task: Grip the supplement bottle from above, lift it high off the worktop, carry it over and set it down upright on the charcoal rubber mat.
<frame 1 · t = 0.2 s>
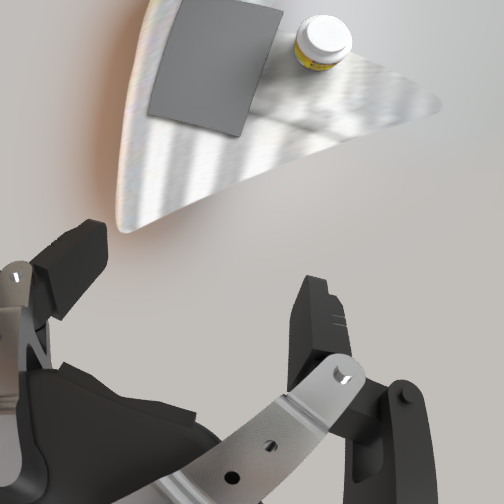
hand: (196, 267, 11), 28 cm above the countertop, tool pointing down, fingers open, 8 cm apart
supplement bottle: (316, 52, 28), on the countertop
mat: (212, 59, 30), on the countertop
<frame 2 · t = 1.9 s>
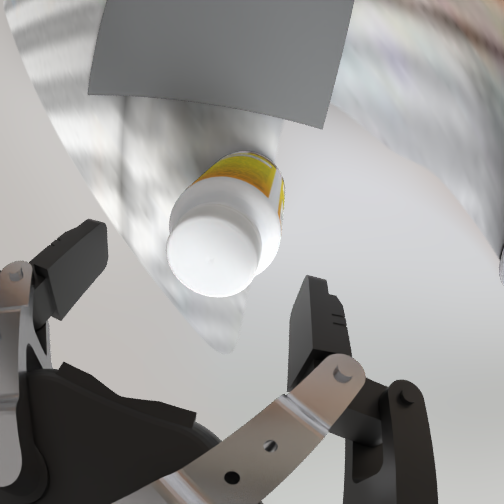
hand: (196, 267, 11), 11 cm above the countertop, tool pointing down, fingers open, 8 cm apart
supplement bottle: (247, 186, 21), on the countertop
mat: (212, 18, 15), on the countertop
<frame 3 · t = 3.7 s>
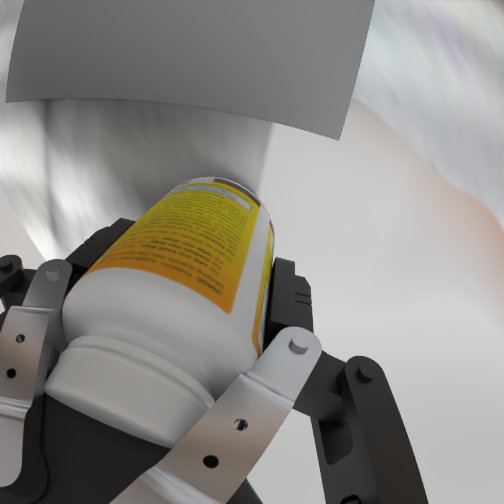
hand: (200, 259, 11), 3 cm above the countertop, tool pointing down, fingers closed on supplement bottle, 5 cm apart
supplement bottle: (216, 229, 14), on the countertop, touching gripper
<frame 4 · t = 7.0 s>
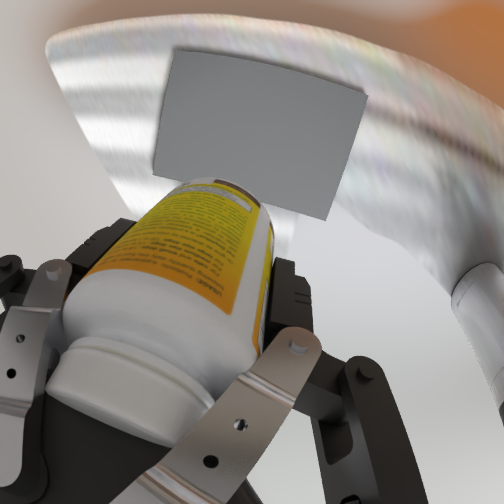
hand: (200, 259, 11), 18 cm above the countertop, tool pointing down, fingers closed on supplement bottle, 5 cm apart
supplement bottle: (216, 229, 14), point 15 cm above the countertop, touching gripper
mat: (253, 130, 25), on the countertop
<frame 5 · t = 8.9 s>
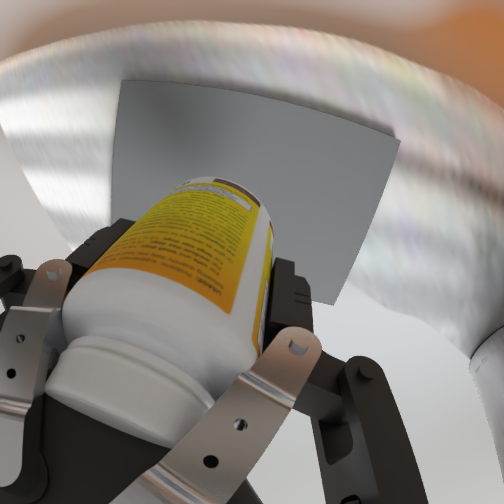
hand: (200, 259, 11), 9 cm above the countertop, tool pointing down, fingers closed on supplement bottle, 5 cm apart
supplement bottle: (216, 229, 14), point 6 cm above the countertop, touching gripper
mat: (236, 192, 19), on the countertop
when the fingers open (4 cm above the countertop, at t = 10.6 s): supplement bottle drops 1 cm, resting on mat.
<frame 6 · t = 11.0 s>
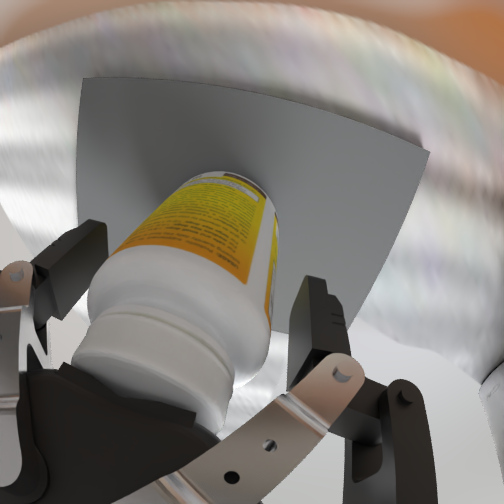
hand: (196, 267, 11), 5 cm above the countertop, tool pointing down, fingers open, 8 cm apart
supplement bottle: (224, 220, 15), point 1 cm above the countertop, touching mat
mat: (223, 214, 15), on the countertop
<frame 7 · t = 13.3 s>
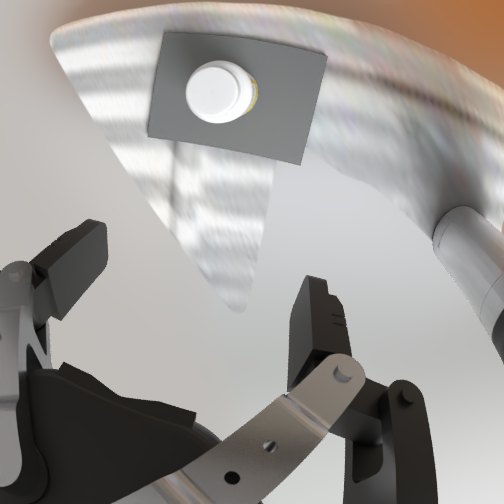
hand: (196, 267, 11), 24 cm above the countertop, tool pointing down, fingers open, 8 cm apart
supplement bottle: (233, 92, 27), point 1 cm above the countertop, touching mat
mat: (232, 92, 28), on the countertop
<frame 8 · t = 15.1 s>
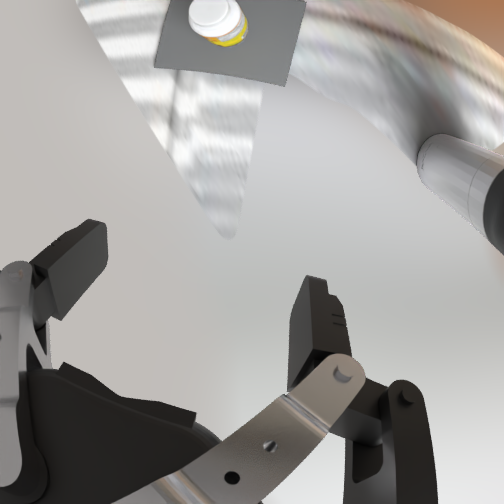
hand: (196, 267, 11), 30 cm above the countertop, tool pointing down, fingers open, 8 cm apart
supplement bottle: (228, 30, 28), point 1 cm above the countertop, touching mat
mat: (228, 31, 29), on the countertop
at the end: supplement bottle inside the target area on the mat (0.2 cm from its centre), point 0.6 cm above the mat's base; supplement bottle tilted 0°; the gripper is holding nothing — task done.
